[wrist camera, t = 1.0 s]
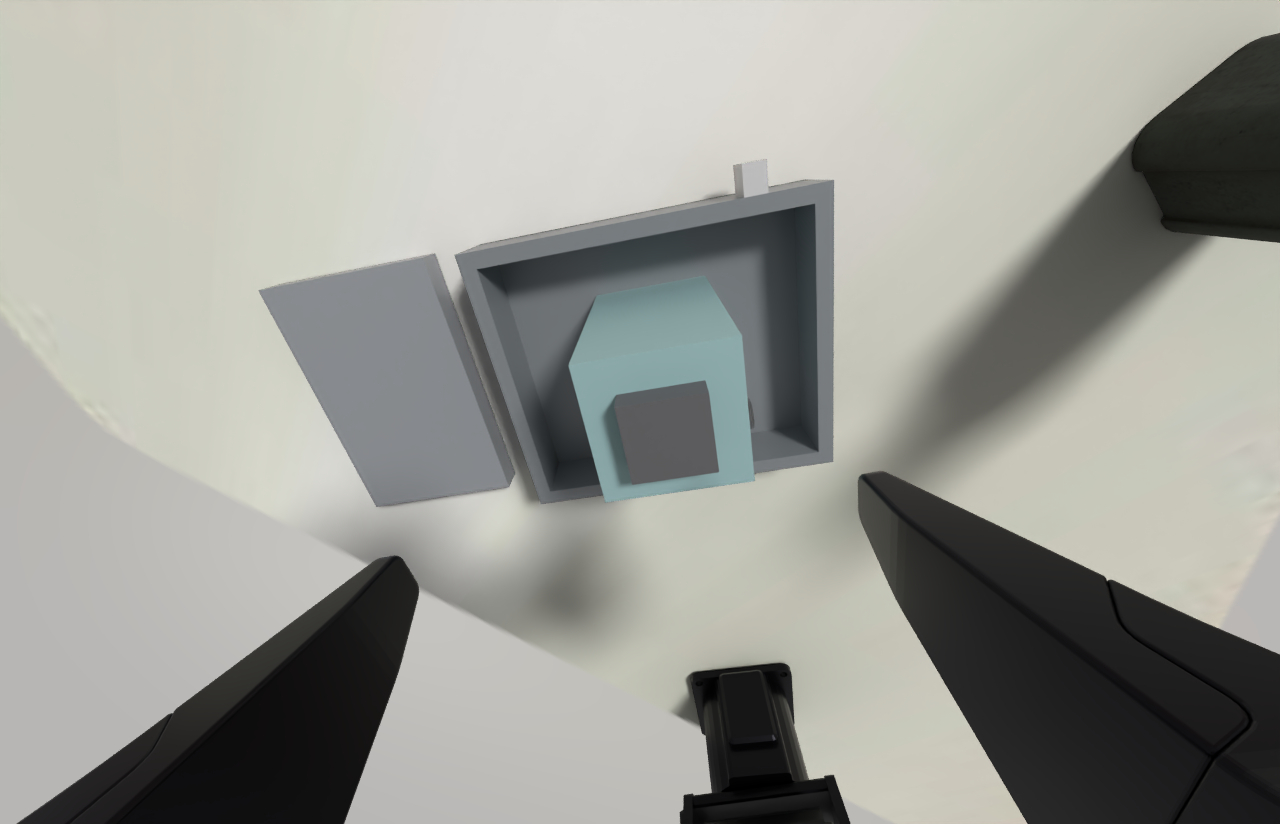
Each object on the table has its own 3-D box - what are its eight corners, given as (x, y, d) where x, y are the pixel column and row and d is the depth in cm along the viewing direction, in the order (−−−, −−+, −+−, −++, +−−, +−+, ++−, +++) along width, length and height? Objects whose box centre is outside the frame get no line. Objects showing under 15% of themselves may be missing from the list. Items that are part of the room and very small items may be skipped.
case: (810, 428, 23) (832, 461, 20) (552, 467, 24) (540, 504, 21) (804, 150, 17) (833, 145, 15) (472, 218, 18) (444, 224, 16)
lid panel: (515, 473, 24) (508, 486, 23) (388, 492, 25) (376, 506, 24) (434, 253, 19) (422, 257, 18) (279, 284, 20) (258, 290, 19)
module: (717, 376, 21) (760, 497, 13) (618, 393, 21) (603, 519, 13) (705, 275, 19) (748, 345, 11) (596, 295, 19) (563, 377, 11)
